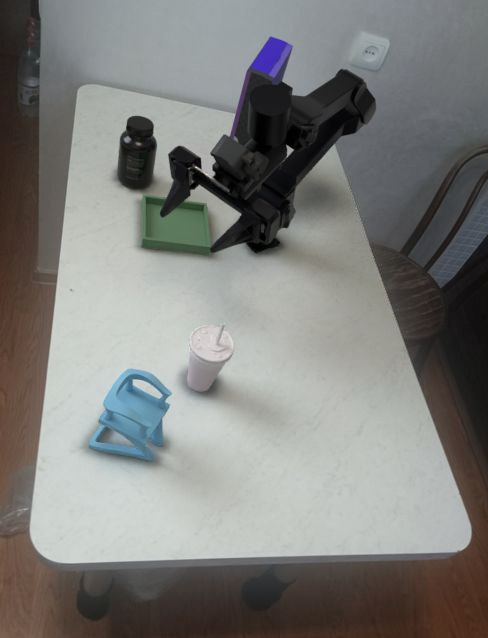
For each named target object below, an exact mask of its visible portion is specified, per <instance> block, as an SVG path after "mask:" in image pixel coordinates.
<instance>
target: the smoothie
mask: <svg viewBox="0 0 488 638" xmlns="http://www.w3.org/2000/svg"><path fill="white" fill-rule="evenodd" d="M225 327H226V322H225V321H222V322H221V323H220V326H218V325H214V324H205V325H204V324H203V325H200V326H198V327H196V328H195V329H193V331H192V332H191V333H190V335H189V338H188V343H187V347H188V350H189V354H188V355H189V356H188V366H187V376H186V382H187V385H188V386H189V388H190V389H191V390H193V391H195V392H206V391H208V390H209V389H210V388H211V386H212V385H213V383H214V382H215V380H216V378H217V377H218V376H219V374H220V373H221V371H222V369H223V367H224V366H225V365H226V363H228V362H229V361H230V360H231V359H232V358H233V355H234V352H235V349H236V346H235V341H234V338H233V336H232V335H231V334H230V333H229V332H228V331H227V330H225Z"/></svg>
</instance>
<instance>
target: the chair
mask: <svg viewBox="0 0 488 638" xmlns="http://www.w3.org/2000/svg"><path fill="white" fill-rule="evenodd" d="M135 380H138V381H142V382H146V383H148V384H150V385H151V386H153V387H154V388H155V389H156V390H157V391H158V392H159V393H160V394H161V395H162V396H160V398H159V397H157V396H154V395H152V394H151V393H148V392H147V391H144V390H143V389H141V388H139V387H137V386H135V385H134V381H135ZM172 395H173V391H171V390H170V389H169V388H167V387H166V386H165V384H164V383H162V381H160V379H159V378H158V377H157V376H155V375H154V374H153V373H151V372H149V371H146V370H142V369H136V368H127V369H126V370H125V371H123V372H122V373H121V374H120V375H119V376H118V378H117V379H116V380H115V381H114V383H113V384H112V386H111V387H110V389H109V391H108V392H107V393H106V396H105V397H104V399H103V402H102V406H103V408H104V409H105V410H104V411H103V412H102V414H101V415H100V416H99V418H98V422H97V423H99V424H101V425H100V426H99V427H98V429H97V430H96V431H95V433H94V434H93V435H92V437H90V440H89V441H88V447H89V449H92V450H95V451H98V452H103V453H104V452H105V453H108V454H109V453H110V454H115V455H121V456H126V457H131V458H137V459H140V460H145V461H148V462H152V461H154V458H155V454H154V452H153V451H152V450H150V448H148V447H147V443H148V442H149V441H150V442H151V443H153V445H155V446H157V447H162V446H163V445H164V432H163V419H164V417H165V415H166V414H167V412H168V411H169V409H170V407H171V403H169V402H167V399H168V398H169V397H170V396H172ZM107 428H108V429H110V430H112V431H114V432H116V433H117V434H119V435H120V436H122V437H124V438H125V439H126V440H127V441H129V442H130V443H131V444H132V445H133V446H127V445H119V444H115V443H114V444H113V443H106V442H99V439H100V437H101V436H102V435H103V433H104V432H105V430H106V429H107Z"/></svg>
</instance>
